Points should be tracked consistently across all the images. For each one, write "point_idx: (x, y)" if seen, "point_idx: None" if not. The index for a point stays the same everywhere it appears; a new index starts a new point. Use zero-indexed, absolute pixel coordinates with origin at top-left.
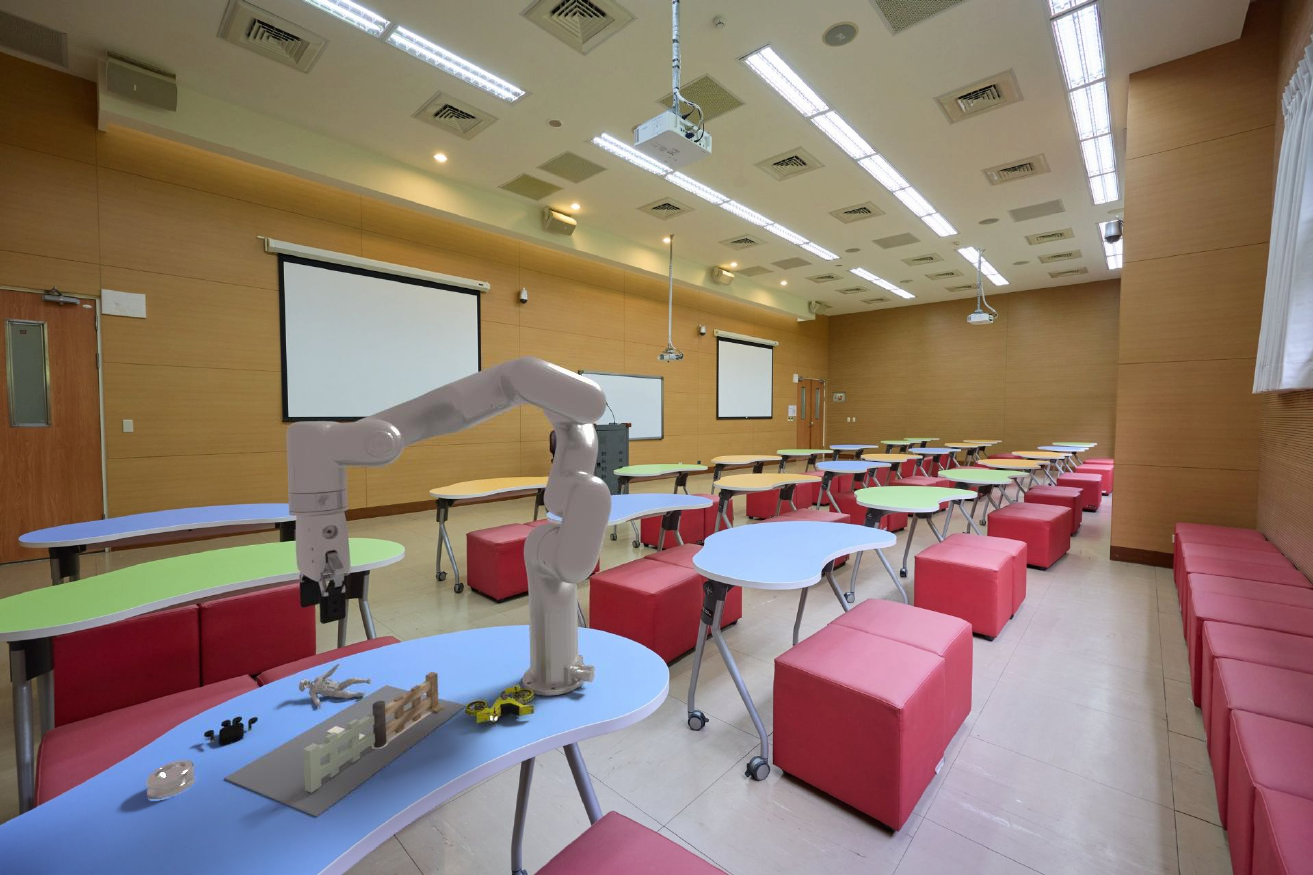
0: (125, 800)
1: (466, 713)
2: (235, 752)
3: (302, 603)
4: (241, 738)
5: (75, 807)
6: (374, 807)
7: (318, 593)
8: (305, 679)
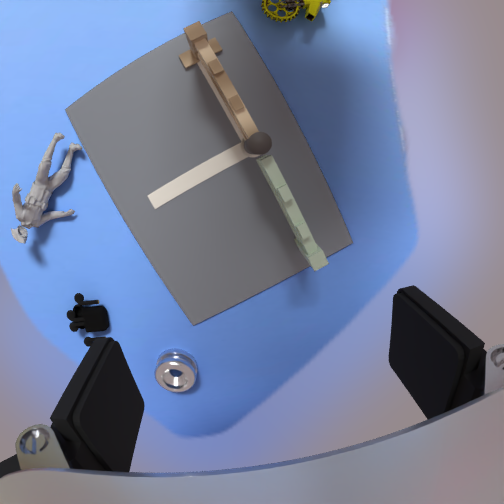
0: (173, 392)
1: (281, 21)
2: (134, 313)
3: (141, 415)
4: (104, 307)
5: (160, 416)
6: (381, 186)
7: (110, 387)
8: (13, 233)
